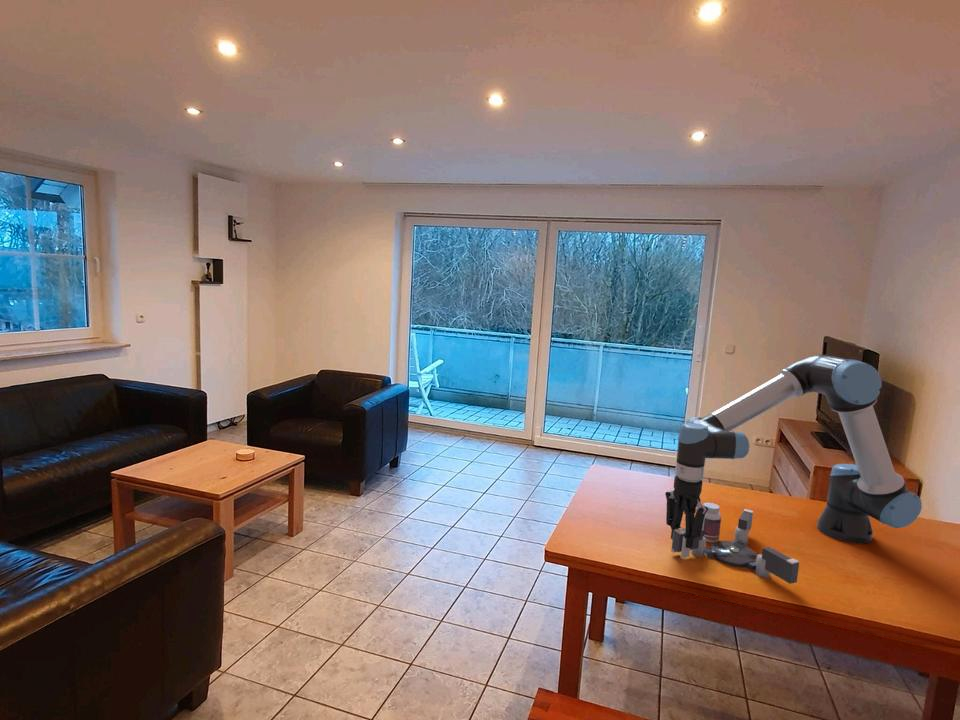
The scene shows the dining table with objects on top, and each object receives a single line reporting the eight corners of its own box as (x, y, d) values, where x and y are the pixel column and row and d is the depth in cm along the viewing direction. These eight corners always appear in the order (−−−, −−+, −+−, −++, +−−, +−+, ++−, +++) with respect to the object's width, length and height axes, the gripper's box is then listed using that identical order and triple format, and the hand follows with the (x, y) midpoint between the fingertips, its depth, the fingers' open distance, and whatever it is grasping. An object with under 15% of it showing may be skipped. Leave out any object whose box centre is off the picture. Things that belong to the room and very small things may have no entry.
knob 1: (745, 548, 164) (748, 522, 162) (732, 544, 166) (735, 519, 164) (752, 535, 172) (755, 511, 171) (740, 532, 174) (743, 508, 173)
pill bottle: (722, 540, 168) (726, 507, 166) (711, 545, 165) (714, 511, 163) (705, 532, 173) (708, 500, 172) (693, 536, 170) (696, 503, 168)
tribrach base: (744, 546, 165) (745, 538, 164) (764, 572, 150) (765, 563, 150) (698, 542, 166) (699, 534, 166) (713, 567, 152) (714, 558, 151)
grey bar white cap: (752, 572, 150) (755, 544, 149) (761, 569, 151) (765, 542, 150) (787, 593, 140) (791, 563, 139) (796, 590, 142) (801, 561, 140)
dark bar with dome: (698, 549, 162) (700, 523, 160) (707, 555, 158) (710, 529, 157) (669, 555, 157) (672, 528, 156) (678, 561, 154) (681, 534, 153)
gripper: (657, 469, 158) (650, 544, 161) (703, 489, 144) (693, 570, 148) (675, 466, 161) (667, 539, 165) (721, 485, 148) (711, 564, 151)
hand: (680, 553), depth 156 cm, fingers closed on dark bar with dome, 3 cm apart
